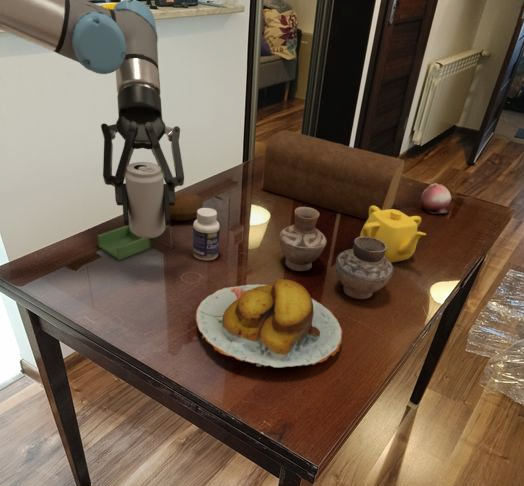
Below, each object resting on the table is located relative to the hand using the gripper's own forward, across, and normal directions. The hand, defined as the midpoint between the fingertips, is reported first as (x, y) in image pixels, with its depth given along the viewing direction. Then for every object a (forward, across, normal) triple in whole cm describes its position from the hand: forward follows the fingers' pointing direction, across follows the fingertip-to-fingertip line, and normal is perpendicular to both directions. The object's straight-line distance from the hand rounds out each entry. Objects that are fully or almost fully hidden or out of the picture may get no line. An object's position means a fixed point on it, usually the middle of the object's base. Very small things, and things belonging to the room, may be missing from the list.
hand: (147, 222), depth 85 cm
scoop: (-3, +2, -20) cm, 21 cm away
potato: (-10, -9, -28) cm, 31 cm away
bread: (-18, -48, -37) cm, 63 cm away
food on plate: (+21, -20, +3) cm, 29 cm away
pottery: (+9, -36, -9) cm, 38 cm away
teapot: (+3, -53, -15) cm, 55 cm away
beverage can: (0, 0, -5) cm, 5 cm away
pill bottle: (+2, -12, -16) cm, 20 cm away
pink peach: (-13, -77, -32) cm, 84 cm away
